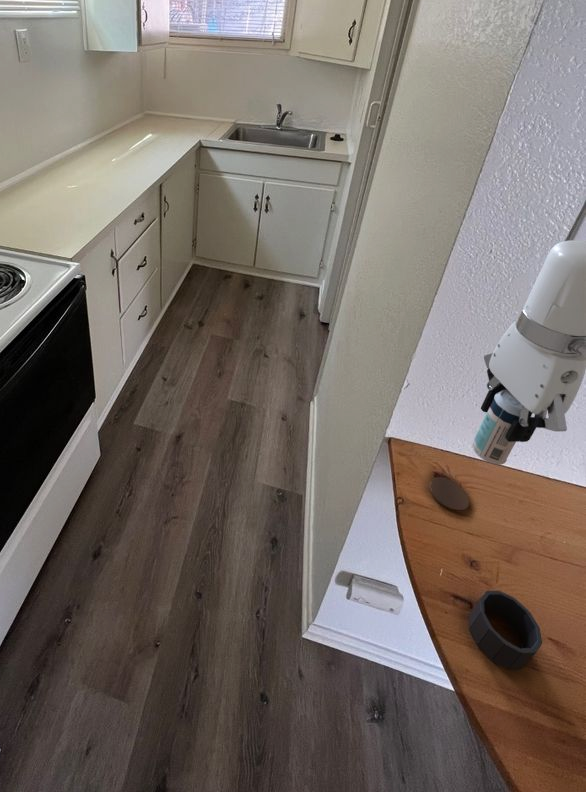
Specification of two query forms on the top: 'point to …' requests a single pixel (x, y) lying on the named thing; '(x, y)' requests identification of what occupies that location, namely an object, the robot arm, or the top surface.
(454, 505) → the coaster
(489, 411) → the beer can
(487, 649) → the ring
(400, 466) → the top surface
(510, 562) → the top surface
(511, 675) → the top surface
